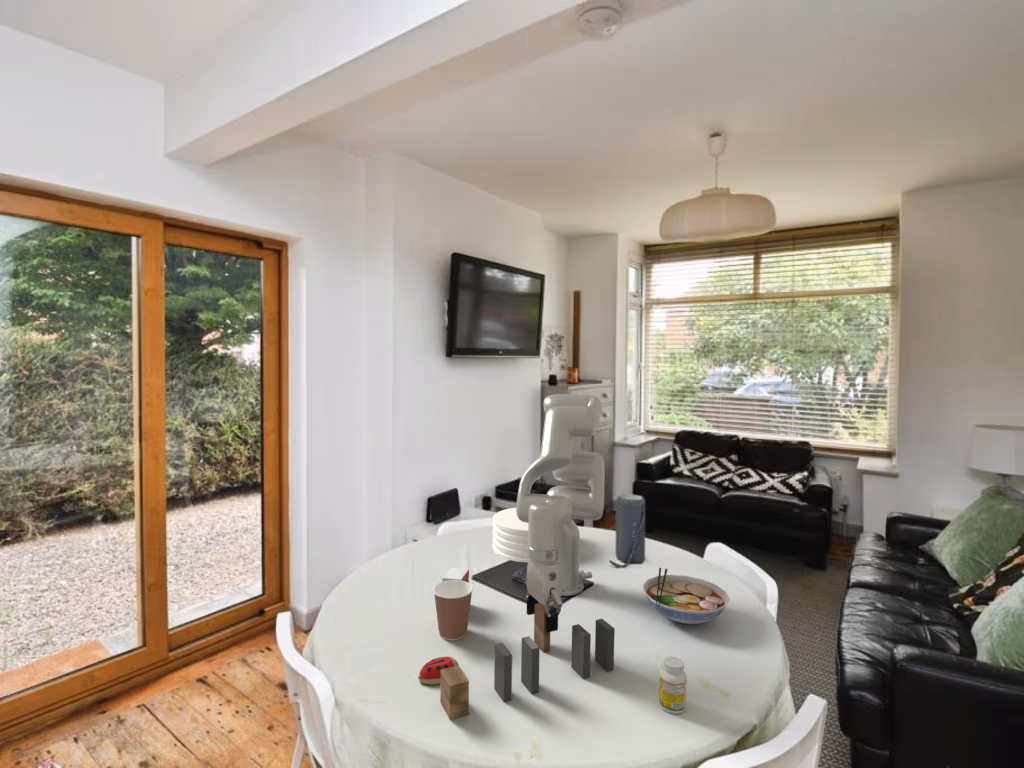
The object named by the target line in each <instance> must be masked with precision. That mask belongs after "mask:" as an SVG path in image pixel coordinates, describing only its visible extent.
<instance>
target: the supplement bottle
mask: <svg viewBox="0 0 1024 768" xmlns="http://www.w3.org/2000/svg"><path fill="white" fill-rule="evenodd" d="M662 666H663V667H661V669H660V671H659V689H658V692H659V693H658V694H659V695H658V701H659V702H658V703H659V706H660V708H661V709H662V710H663V711H665V712H667V713H669V714H672V715H680V714H682V713H683V712H685V710H686V706H687V705H686V704H687V702H686V701H687V684H688V683H687V681H688V680H687V678H688V677H687V673H686V672H685V671H684V670H685V669H684V668H685V663H684V661H683V660H682V659H681V658H679V657H677V656H669V655H668V656H666V657H665V658H664V659H663V665H662Z"/></svg>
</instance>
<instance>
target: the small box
mask: <svg viewBox="0 0 1024 768" xmlns="http://www.w3.org/2000/svg"><path fill="white" fill-rule="evenodd" d="M441 579H442V581H441V582H444V581H449V580H460V581H465V582H468V583H470V569H469V568H464V567H463V568H461V567H450V568H449V570H448V571H447V573H446V574H445V575H444V576H443V577H442V578H441Z"/></svg>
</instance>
